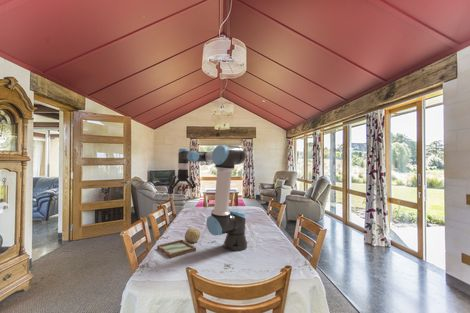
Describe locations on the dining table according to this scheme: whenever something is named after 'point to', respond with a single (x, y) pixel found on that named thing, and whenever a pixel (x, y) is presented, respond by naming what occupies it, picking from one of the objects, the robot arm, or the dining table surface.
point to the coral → (192, 235)
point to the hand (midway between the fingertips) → (182, 197)
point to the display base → (176, 248)
